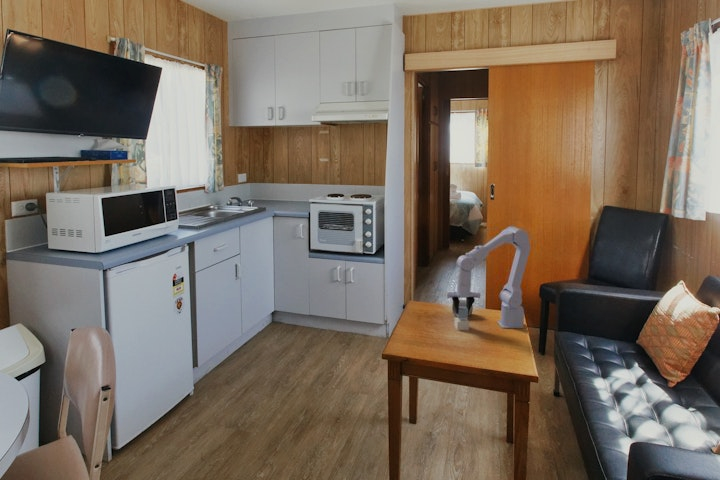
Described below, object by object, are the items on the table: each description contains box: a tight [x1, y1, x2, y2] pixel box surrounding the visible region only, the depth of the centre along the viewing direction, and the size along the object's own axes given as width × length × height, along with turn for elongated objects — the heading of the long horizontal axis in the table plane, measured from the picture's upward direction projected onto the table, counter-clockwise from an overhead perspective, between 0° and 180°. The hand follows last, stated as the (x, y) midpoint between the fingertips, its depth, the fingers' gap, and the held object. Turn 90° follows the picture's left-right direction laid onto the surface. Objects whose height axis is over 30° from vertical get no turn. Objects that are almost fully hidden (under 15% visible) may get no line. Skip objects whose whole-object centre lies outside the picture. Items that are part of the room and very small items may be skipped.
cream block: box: [453, 317, 470, 331], centre depth 223 cm, size 5×5×4 cm
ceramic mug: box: [451, 299, 474, 317], centre depth 240 cm, size 11×8×8 cm
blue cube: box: [456, 307, 469, 319], centre depth 222 cm, size 4×4×4 cm
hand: (462, 313), depth 222 cm, fingers closed on blue cube, 4 cm apart
